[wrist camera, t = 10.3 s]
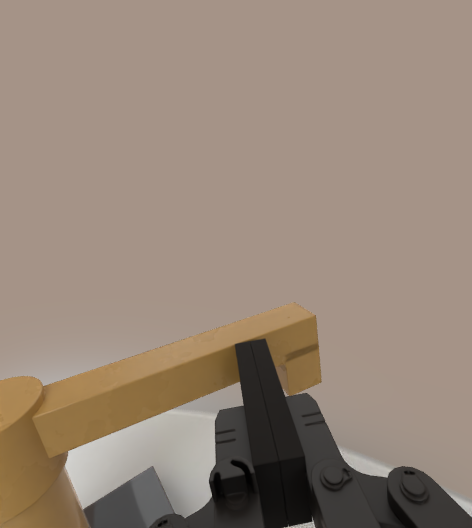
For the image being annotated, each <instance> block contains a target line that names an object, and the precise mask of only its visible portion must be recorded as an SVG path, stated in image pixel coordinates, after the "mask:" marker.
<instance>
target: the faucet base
mask: <svg viewBox="0 0 472 528" xmlns="http://www.w3.org/2000/svg"><path fill="white" fill-rule="evenodd" d="M173 513H174V511H173V509H172V506H171V504H170V502H169V500H168V498H167V495H166V493H165V491H164V489H163V487H162V485H161V482H160V480H159V478H158V476H157V474H156V472H155V469H154V467H153V466H152V467H150V468H148V469H147V470H145V471H144V472H142V473H140V474H139V475H137V476H136V477H134V478H133V479H131V480H129V481H128V482H126V483H125V484H123V485H121V486H120V487H118V488H117V489H115V490H113V491H112V492H110V493H109V494H107V495H106V496H104V497H102V498H101V499H99V500H98V501H96V502H94V503H93V504H91V505H90V506H88V507H86V508H85V509H83V508H82V506H81V503H80V501H79V499H78V496H77V494H76V491H75V489H74V487H73V484H72V482H71V480H70V477H69V475H68V472H67V470H66V468H65V466H64V468H63V470H62V472H61V473H60V475H59V477H58V478H57V480H56V481H55V482H54V483H53V485H52V486H51V487H50V488H49V489H48V490H47V492H46V493H45V494H44V495H43V496H42V497H41V498H39V499H38V500H37V501H36V502H35V503H34V504H33V505H31V506H30V507H29V508H27V509H26V510H25V511H23V512H22V513H20V514H19V515H17V516H16V517H14V518H12V519H11V520H9V521H7V522H5V523H3V524H1V525H0V528H149V527H150V526H151V525H152V524H153V523H154V522H155V521H156V520H157V519H159V518H160V517H162V516H164V515H167V514H173Z"/></svg>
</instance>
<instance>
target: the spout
mask: <svg viewBox="0 0 472 528" xmlns="http://www.w3.org/2000/svg"><path fill="white" fill-rule="evenodd" d="M264 338H265V339H266V342H267V345H268V347H269V350H270V353H271V356H272V359H273V362H274V365H275V368H276V371H277V374H278V377H279V380H280V383H281V386H282V388H283V389H284V391H285V392H286V393H287V394H288V395H289V396H292V395H294V394H296V393H299V392H301V391H303V390H305V389H308V388H310V387H312V386H314V385H317V384H319V383H321V369H320V357H319V345H318V335H317V323H316V315H314V314H312V313H311V312H309V311H308V310H306V309H304V308H303V307H301V306H300V305H298V304H296V303H291V304H288V305H285V306H281V307H278V308H275V309H273V310H270V311H267V312H264V313H261V314H258V315H255V316H252V317H249V318H246V319H243V320H240V321H237V322H234V323H231V324H228V325H225V326H222V327H219V328H216V329H213V330H210V331H207V332H204V333H201V334H198V335H195V336H192V337H189V338H186V339H183V340H180V341H177V342H174V343H171V344H168V345H165V346H162V347H159V348H156V349H153V350H150V351H147V352H144V353H141V354H138V355H135V356H132V357H129V358H126V359H123V360H120V361H118V362H114V363H111V364H109V365H105V366H102V367H99V368H97V369H94V370H90V371H88V372H85V373H81V374H78V375H75V376H72V377H70V378H67V379H64V380H61V381H58V382H55V383H52V384H49V385H46V386H43V385H42V382H41V381H40V380H39V379H37V378H35V377H30V376H20V377H13V378H8V379H4V380H1V381H0V525H1V524H3V523H5V522H7V521H9V520H11V519H12V518H14V517H16V516H17V515H19V514H20V513H22V512H23V511H25V510H26V509H27V508H29V507H30V506H31V505H33V504H34V503H35V502H36V501H37V500H38V499H39V498H41V497H42V496H43V495H44V494H45V493H46V492H47V490H48V489H49V488H50V487H51V486H52V485H53V483H54V482H55V481H56V480H57V478H58V477H59V475H60V473H61V472H62V470H63V468H64V466H65V463H66V461H67V456H68V451H69V450H72V449H74V448H77V447H79V446H82V445H84V444H87V443H89V442H91V441H94V440H96V439H99V438H101V437H104V436H106V435H109V434H111V433H114V432H116V431H119V430H121V429H124V428H126V427H129V426H131V425H134V424H136V423H139V422H141V421H143V420H146V419H148V418H151V417H153V416H156V415H158V414H161V413H163V412H166V411H168V410H171V409H173V408H176V407H178V406H181V405H183V404H185V403H188V402H190V401H193V400H195V399H198V398H200V397H203V396H205V395H208V394H210V393H213V392H215V391H218V390H220V389H223V388H225V387H227V386H230V385H232V384H235V383H237V382H240V377H239V370H238V363H237V357H236V350H235V344H236V343H242V342H247V341H253V340H258V339H264ZM250 344H251V343H250Z"/></svg>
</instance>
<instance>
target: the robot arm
mask: <svg viewBox="0 0 472 528" xmlns="http://www.w3.org/2000/svg"><path fill="white" fill-rule="evenodd" d="M250 343H251V344H250ZM235 350H236V357H237V363H238V370H239V377H240V384H241V390H242V397H243V404H244V406H239V407H234V408H229V409H223V410H220V411H219V413H218V415H217V417H216V420H215V443H216V445H215V448H216V465H215V466H214V468H213V470H212V471H211V473H210V478H209V484H210V488H211V492H212V497H211V499H210V501H209V502H208V503H207V504H206V505H205V506H204V507H203V508H201V509H200V510H199V511H197V512H195V513H194V514H192V515H190V516H188V517H187V518H184V517H183V516H181V515H178V514H175V513H173V514H167V515H164V516H162V517H160V518H159V519H157V520H156V521H155V522H154V523H153V524H152V525H151V526H150V527H149V528H284V527H288V525H289V526H294V525H298V524H303V523H308V522H312V517H313V521H314V524H315V527H316V528H472V517H471V516H470V515H469V514H468V513H467V512H466V511H465V510H463V509H462V508H461V507H460V506H459V505H458V504H457V503H456V502H455V501H454V500H453V499H452V498H451V497H450V496H449V495H448V494H447V493H446V492H445V491H444V490H443V489H442V488H441V487H440V486H439V485H438V484H437V483H436V482H435V481H434V480H433V479H432V478H431V477H429V476H428V475H427V474H425V473H424V472H422V471H420V470H418V469H415V468H413V467H405V466H404V467H403V466H402V467H398V468H395V469H393V470H392V471H391V472H390V473H389V475H388V478H386V477H378V476H370V475H366V474H362V473H360V472H358V471H356V470H354V469H353V468H351V467H350V466H349V465H348V464H347V463H346V462H345V461H344V459H343V458H342V456H341V454H340V452H339V450H338V447H337V445H336V443H335V441H334V439H333V437H332V435H331V432H330V430H329V428H328V426H327V424H326V423H325V419H324V417H323V415H322V414H321V411H320V409H319V407H318V404H317V402H316V401H315V400H314V399H313V398H312V397H311V396H310V395H309V394H307V393H303V394H298V395H293V396H287V397H285V395H284V392H283V389H282V386H281V383H280V380H279V377H278V374H277V371H276V368H275V365H274V362H273V359H272V356H271V353H270V350H269V347H268V345H267V342H266V339H265V338H264V339H258V340H253V341H247V342H242V343H236V344H235Z"/></svg>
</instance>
